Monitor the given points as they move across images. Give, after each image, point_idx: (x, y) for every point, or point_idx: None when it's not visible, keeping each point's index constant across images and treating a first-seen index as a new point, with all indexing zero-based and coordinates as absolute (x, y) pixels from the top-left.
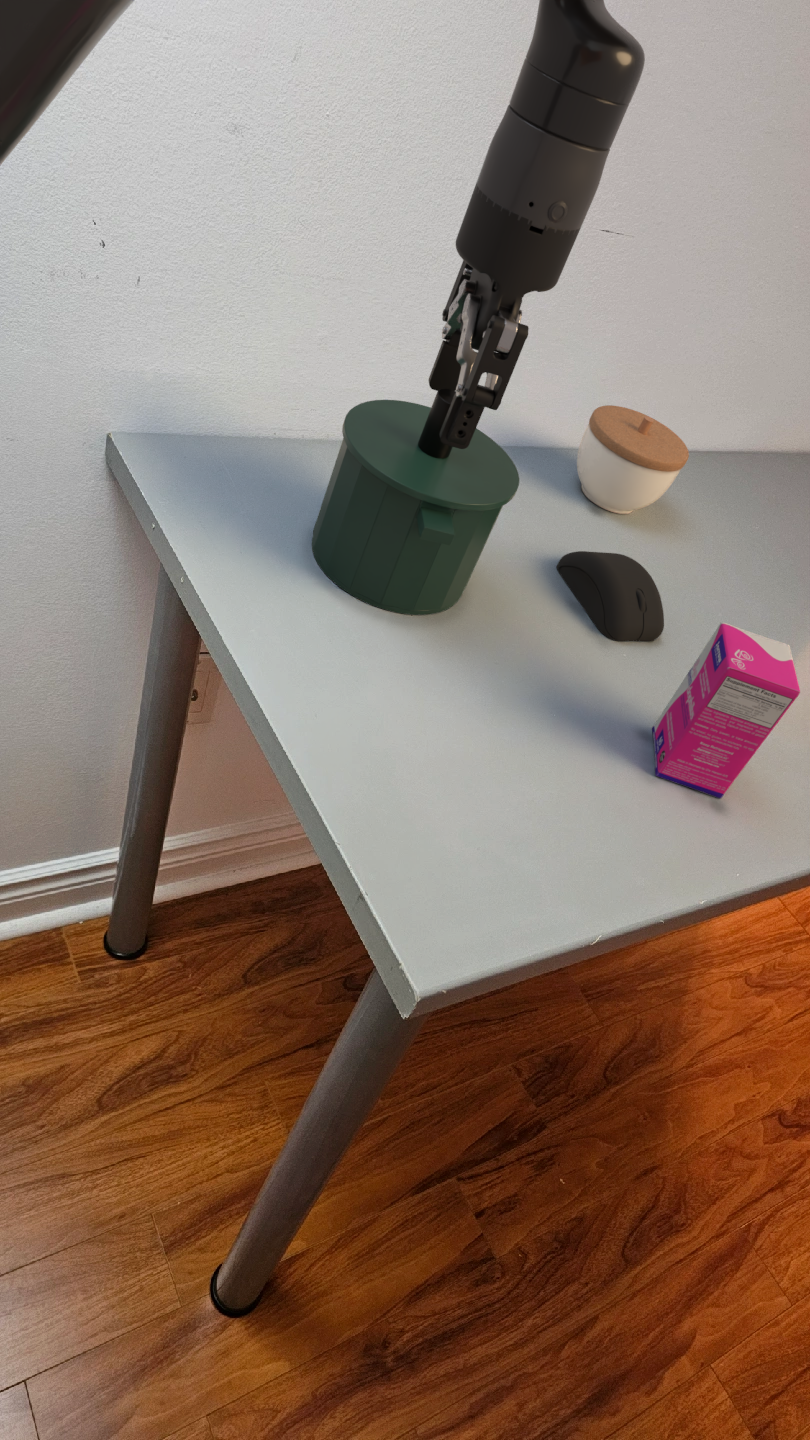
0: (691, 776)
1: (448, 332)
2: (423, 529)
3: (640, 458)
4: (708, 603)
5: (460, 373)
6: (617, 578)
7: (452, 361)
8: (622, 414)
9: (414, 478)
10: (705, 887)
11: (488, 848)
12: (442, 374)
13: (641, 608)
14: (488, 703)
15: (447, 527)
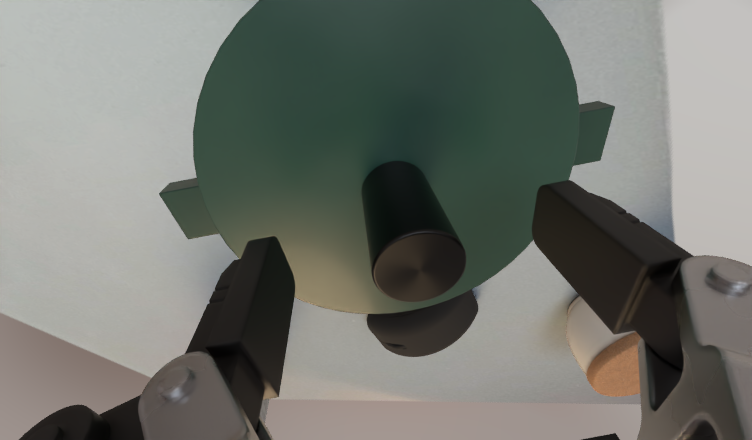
0: None
1: (688, 307)
2: (161, 191)
3: (597, 367)
4: (459, 363)
5: (227, 410)
6: (408, 335)
7: (592, 267)
8: None
9: (242, 169)
10: (127, 363)
11: (5, 248)
12: (562, 226)
13: (388, 344)
14: None
15: (198, 227)
